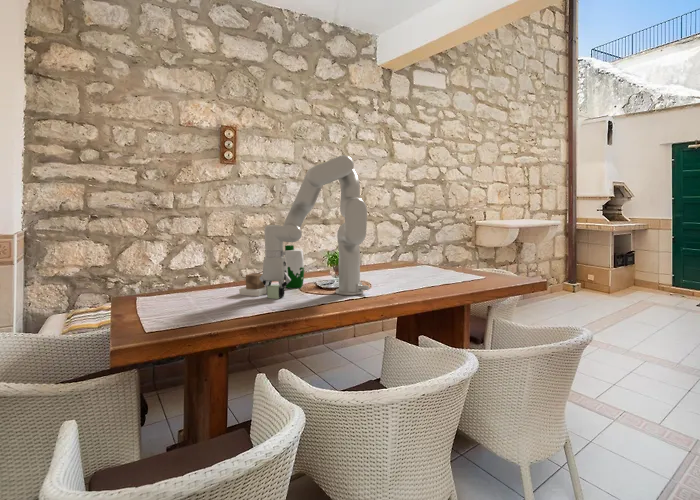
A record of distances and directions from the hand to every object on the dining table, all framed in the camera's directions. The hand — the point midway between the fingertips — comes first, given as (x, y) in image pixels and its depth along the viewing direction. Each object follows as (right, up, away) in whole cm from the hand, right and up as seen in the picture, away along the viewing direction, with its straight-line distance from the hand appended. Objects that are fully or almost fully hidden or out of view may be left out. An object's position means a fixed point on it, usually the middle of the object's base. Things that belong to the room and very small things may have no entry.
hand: (275, 296), depth 174 cm
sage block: (0, -1, 0) cm, 1 cm away
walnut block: (-11, +3, +9) cm, 14 cm away
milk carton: (+5, +2, +24) cm, 24 cm away
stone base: (-11, 0, +9) cm, 14 cm away
